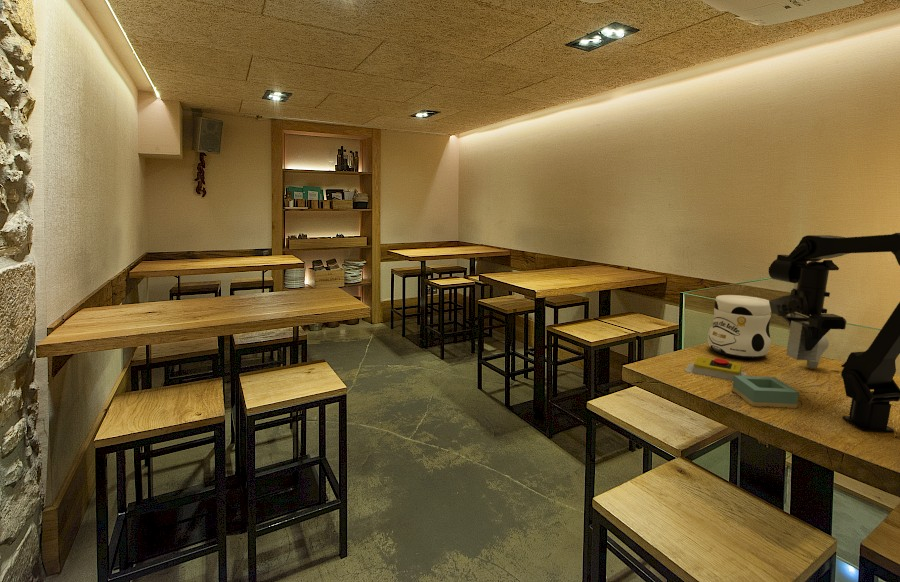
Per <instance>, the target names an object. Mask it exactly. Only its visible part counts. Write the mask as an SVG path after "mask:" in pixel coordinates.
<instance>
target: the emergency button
mask: <svg viewBox="0 0 900 582" xmlns="http://www.w3.org/2000/svg"><path fill="white" fill-rule="evenodd" d="M684 372H686V373H687V374H688V373H689V374H693V373H694V375H698V374H699V375H700V376H703V375H705V376H704V377H708V376H711V377H710V378H714V377H715V379H719V378H720V380H724V379H725V381H729V380H730V381H731V382H733V380H734V375H735V376H748V375H747V373H746V372H743V371H742V364H741V363H738V362H732V361H729V360H727V359H723V358H709V357H704V356H698V357H697V358H696V360H695V362H694V363H692V362H691V363H688V365H687V366H686V368H685V370H684Z"/></svg>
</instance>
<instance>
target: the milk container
mask: <svg viewBox="0 0 900 582" xmlns="http://www.w3.org/2000/svg"><path fill="white" fill-rule="evenodd" d="M769 301H770V300H769V299H765V298H761V297H756V296H750V295H739V294H722V295H717V296H716V297H715V300H714V308H713V316H712V317H713V318H712V319H713V320H712V323H711V326H710V327H709V330H708V333H707V342H708V346H709V348H710V349H711V350H713V351H714V352H716V353H718V354H722V355H723V356H729V357H733V358H738V359H758V358H763V357H765V356H766V355H767V354H768V353H769V351H770V348H771V343H772V341H771V335H770V324H771V317H772V312H771V308H770V304H769Z"/></svg>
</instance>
